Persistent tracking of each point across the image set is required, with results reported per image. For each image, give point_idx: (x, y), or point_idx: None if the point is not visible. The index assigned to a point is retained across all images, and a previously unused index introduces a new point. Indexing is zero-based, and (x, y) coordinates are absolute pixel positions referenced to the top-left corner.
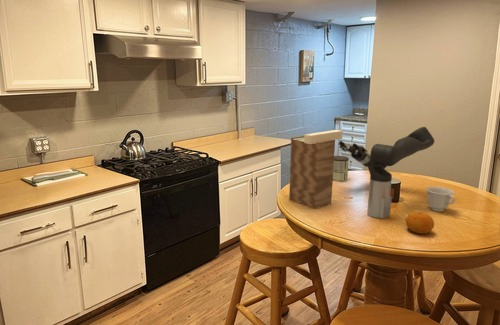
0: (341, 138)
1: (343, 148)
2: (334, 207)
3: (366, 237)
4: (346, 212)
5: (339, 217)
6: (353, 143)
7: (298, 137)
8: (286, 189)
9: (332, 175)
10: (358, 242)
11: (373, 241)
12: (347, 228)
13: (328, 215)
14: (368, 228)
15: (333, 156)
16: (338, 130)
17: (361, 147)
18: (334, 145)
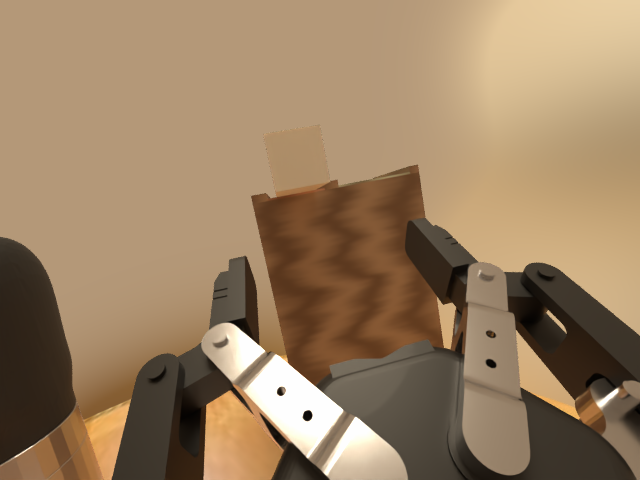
0: (275, 190)
1: (550, 360)
2: (277, 464)
3: (110, 425)
4: (215, 476)
5: (215, 432)
6: (245, 257)
7: (383, 176)
8: (541, 398)
9: (287, 356)
10: (126, 401)
11: (91, 427)
12: None
13: (248, 414)
14: (109, 460)
15: (268, 272)
16: (292, 131)
17: (172, 360)
18: (257, 221)
